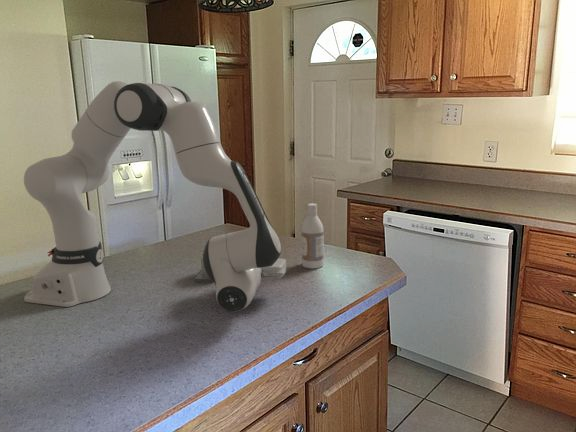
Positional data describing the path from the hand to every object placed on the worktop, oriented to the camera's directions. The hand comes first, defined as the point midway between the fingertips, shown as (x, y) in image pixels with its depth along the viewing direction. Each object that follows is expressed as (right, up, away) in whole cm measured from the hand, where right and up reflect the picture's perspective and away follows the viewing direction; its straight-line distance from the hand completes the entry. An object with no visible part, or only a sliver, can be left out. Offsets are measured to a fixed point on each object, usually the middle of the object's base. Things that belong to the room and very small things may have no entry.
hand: (253, 258), depth 142 cm
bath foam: (+18, -4, +16) cm, 24 cm away
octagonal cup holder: (-11, -6, +9) cm, 15 cm away
